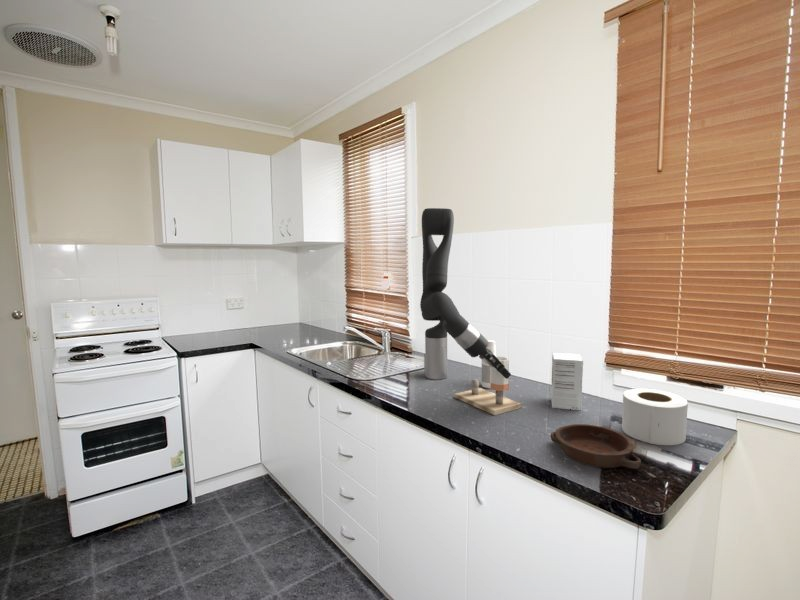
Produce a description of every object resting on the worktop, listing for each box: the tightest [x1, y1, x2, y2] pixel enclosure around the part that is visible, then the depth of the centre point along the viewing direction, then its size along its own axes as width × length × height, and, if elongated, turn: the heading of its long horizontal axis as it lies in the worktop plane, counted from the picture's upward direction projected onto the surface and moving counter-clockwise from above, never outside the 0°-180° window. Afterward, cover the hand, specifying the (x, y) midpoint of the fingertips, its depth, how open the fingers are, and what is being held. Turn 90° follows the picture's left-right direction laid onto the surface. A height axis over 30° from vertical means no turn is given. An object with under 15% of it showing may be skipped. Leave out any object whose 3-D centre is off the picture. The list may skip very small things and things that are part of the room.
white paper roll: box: [621, 388, 689, 446], centre depth 117 cm, size 16×15×11 cm
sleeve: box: [490, 355, 510, 392], centre depth 137 cm, size 6×6×10 cm
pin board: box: [454, 378, 522, 416], centre depth 143 cm, size 20×12×6 cm, turn 31°
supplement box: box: [550, 352, 584, 411], centre depth 140 cm, size 10×9×17 cm
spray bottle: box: [480, 339, 497, 390], centre depth 161 cm, size 7×7×18 cm
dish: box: [550, 423, 642, 470], centre depth 105 cm, size 18×22×5 cm
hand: (504, 373), depth 138 cm, fingers closed on sleeve, 6 cm apart
